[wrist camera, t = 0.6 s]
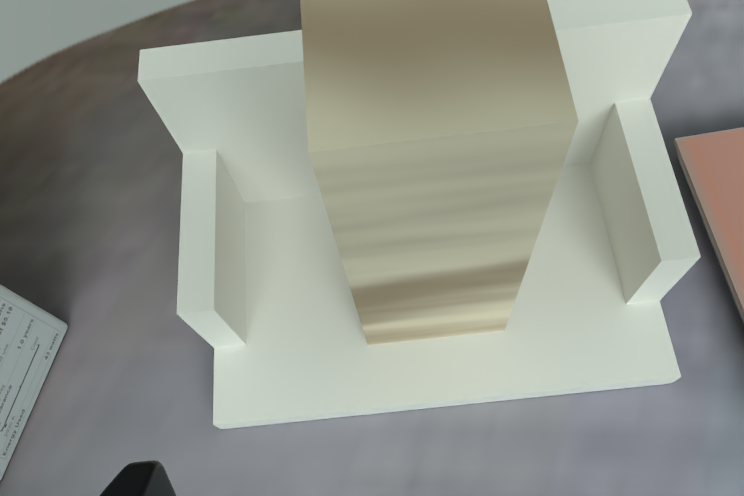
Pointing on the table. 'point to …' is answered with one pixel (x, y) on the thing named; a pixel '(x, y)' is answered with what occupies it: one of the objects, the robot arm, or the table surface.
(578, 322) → the white toy sofa
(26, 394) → the light bulb box
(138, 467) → the robot arm
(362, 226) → the maple block
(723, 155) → the notebook
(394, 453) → the table surface
